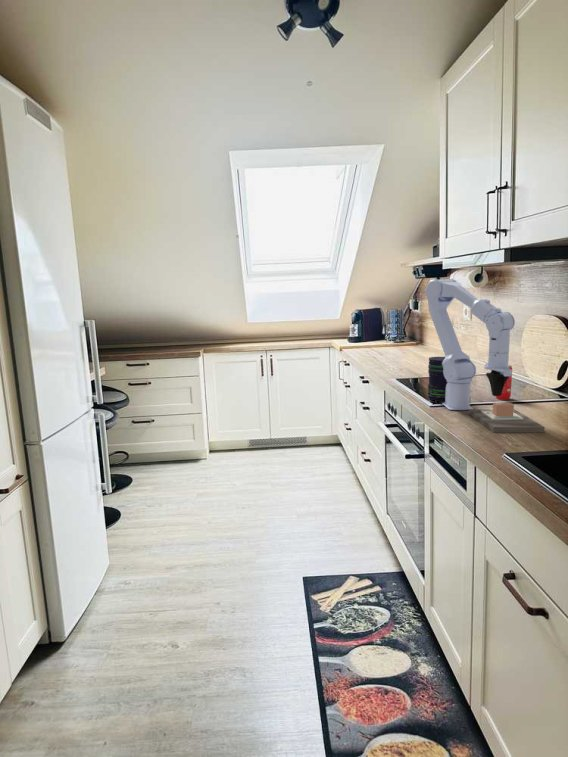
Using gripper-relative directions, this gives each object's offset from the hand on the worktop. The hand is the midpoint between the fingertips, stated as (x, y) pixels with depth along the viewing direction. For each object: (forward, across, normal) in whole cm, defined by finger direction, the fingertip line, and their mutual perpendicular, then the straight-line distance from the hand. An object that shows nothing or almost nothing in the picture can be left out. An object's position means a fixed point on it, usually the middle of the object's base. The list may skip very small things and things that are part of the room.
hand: (496, 395), depth 160 cm
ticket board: (+7, +7, 0) cm, 10 cm away
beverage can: (+7, -25, +14) cm, 30 cm away
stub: (+5, +7, -1) cm, 9 cm away
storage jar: (+7, -27, -8) cm, 29 cm away
